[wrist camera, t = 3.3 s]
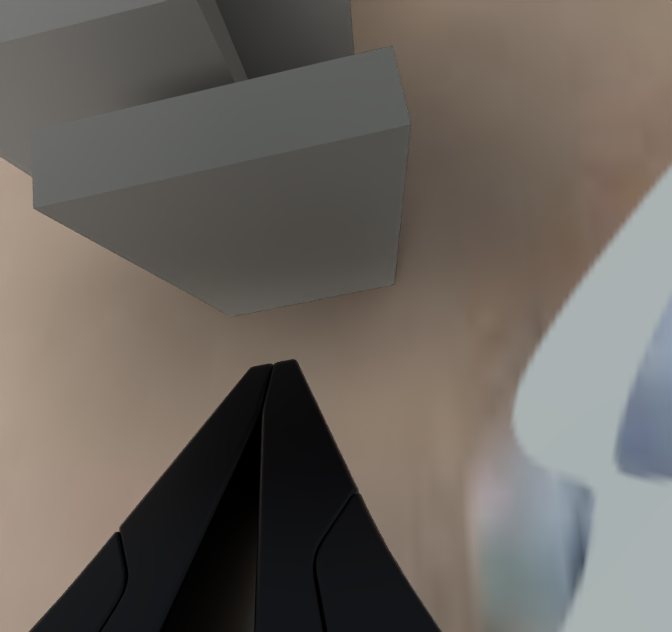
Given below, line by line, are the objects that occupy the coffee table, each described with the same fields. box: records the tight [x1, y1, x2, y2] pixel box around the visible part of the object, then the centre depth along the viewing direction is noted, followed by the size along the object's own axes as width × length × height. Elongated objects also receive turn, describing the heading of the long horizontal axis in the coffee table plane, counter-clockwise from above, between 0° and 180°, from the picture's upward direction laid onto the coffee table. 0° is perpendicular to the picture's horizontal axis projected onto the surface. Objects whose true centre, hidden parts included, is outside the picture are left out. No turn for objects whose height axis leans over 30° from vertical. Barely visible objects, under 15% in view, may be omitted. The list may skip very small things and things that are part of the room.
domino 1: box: [0, 0, 248, 177], centre depth 12 cm, size 1×6×9 cm, turn 100°
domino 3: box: [31, 46, 411, 317], centre depth 11 cm, size 1×6×9 cm, turn 100°
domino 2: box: [215, 0, 354, 80], centre depth 12 cm, size 1×6×9 cm, turn 100°
